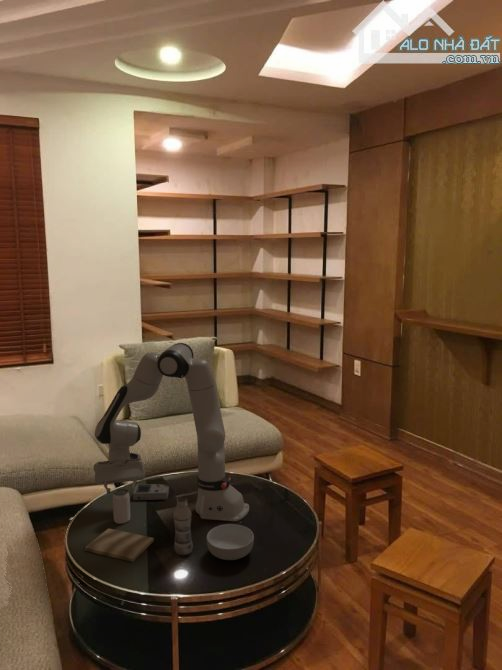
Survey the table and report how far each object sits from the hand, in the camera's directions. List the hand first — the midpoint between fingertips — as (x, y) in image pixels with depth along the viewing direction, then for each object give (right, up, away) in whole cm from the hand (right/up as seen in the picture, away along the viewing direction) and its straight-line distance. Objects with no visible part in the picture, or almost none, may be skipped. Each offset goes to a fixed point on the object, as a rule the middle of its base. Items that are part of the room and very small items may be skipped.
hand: (120, 491), depth 212 cm
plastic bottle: (+29, -14, -25) cm, 41 cm away
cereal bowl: (+45, -14, -26) cm, 54 cm away
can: (+1, -11, -2) cm, 11 cm away
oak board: (+5, -13, -21) cm, 25 cm away
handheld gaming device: (+9, -8, +19) cm, 22 cm away
